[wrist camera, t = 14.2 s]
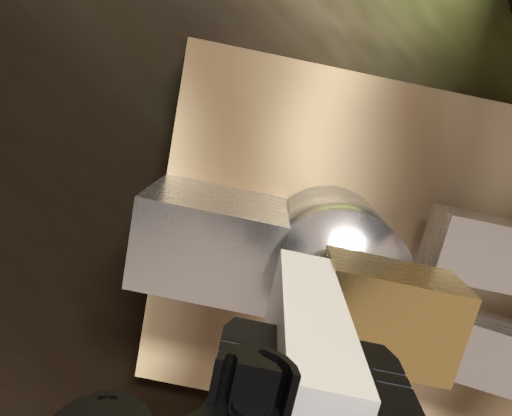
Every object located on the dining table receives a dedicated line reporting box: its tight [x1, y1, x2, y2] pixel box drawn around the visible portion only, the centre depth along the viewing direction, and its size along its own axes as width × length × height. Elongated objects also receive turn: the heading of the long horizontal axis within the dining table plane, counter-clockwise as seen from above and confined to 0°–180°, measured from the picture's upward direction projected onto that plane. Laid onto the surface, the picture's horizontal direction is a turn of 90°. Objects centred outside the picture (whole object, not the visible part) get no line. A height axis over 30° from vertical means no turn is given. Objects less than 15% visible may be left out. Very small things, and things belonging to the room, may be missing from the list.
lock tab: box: [324, 245, 482, 390], centre depth 14 cm, size 4×3×2 cm
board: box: [135, 37, 512, 416], centre depth 20 cm, size 31×15×2 cm, turn 79°
